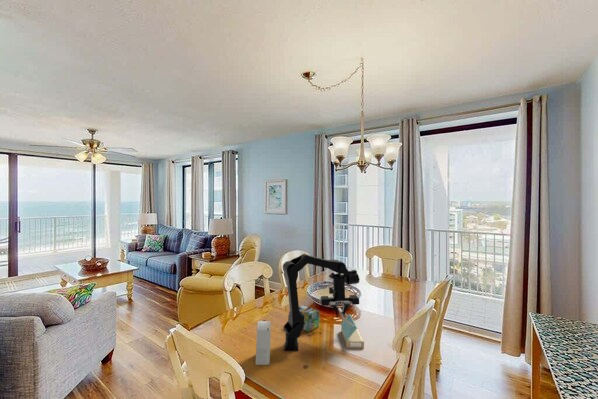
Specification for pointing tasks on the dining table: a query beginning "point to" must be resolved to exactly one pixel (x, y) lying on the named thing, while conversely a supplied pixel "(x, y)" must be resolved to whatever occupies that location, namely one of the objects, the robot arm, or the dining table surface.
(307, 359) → the dining table surface
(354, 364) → the dining table surface
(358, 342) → the carton
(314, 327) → the chalk box
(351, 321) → the lid flap
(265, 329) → the skincare box
